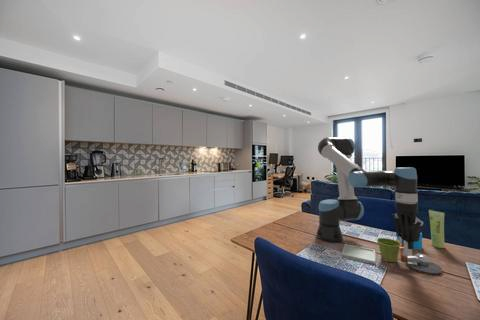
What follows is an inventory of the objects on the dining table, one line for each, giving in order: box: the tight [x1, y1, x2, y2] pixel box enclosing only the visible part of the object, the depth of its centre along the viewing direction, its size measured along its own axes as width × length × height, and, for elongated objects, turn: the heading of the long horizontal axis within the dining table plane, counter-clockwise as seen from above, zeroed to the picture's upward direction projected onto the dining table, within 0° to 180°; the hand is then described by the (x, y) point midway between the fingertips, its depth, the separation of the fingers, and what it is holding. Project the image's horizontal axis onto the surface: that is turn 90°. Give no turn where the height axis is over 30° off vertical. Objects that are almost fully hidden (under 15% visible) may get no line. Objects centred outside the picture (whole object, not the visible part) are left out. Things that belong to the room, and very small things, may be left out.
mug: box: [395, 232, 423, 250], centre depth 109 cm, size 12×8×8 cm
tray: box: [341, 243, 376, 265], centre depth 99 cm, size 14×14×1 cm
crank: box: [399, 246, 430, 266], centre depth 87 cm, size 12×4×7 cm, turn 88°
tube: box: [428, 209, 445, 249], centre depth 107 cm, size 6×5×20 cm
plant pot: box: [376, 237, 402, 263], centre depth 94 cm, size 9×9×9 cm
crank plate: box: [405, 260, 443, 276], centre depth 87 cm, size 12×12×1 cm
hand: (408, 255), depth 85 cm, fingers closed
